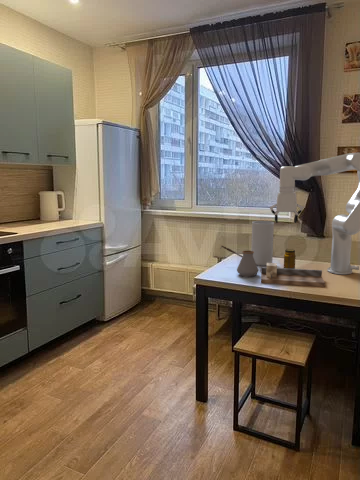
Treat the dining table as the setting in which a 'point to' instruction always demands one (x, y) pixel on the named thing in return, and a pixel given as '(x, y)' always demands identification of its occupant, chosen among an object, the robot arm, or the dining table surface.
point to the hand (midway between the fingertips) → (286, 222)
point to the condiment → (289, 259)
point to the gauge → (271, 270)
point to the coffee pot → (246, 263)
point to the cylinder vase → (262, 242)
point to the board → (294, 277)
